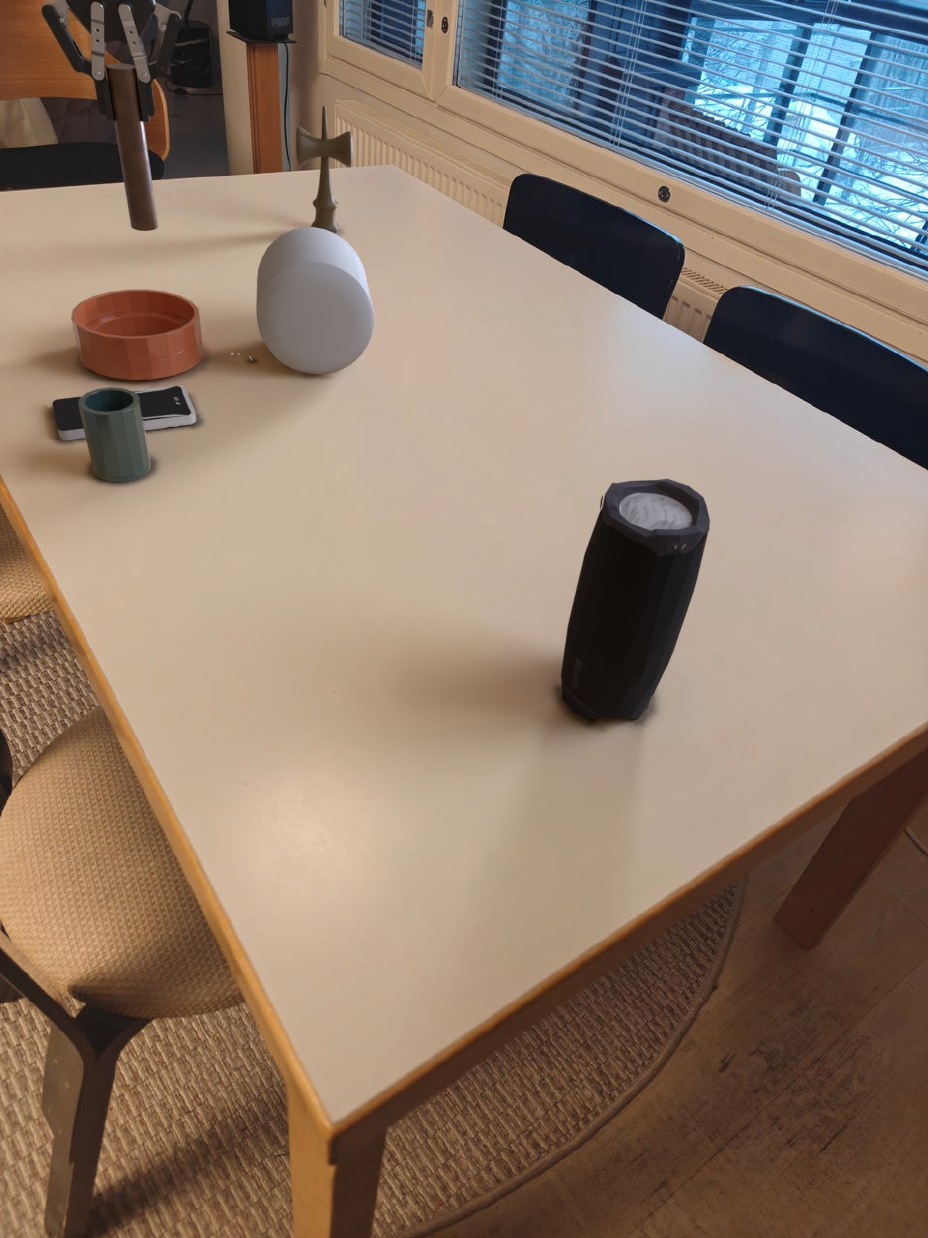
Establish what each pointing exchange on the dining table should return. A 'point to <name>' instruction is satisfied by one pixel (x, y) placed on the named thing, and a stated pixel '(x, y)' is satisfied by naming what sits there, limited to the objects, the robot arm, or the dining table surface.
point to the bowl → (138, 334)
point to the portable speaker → (632, 596)
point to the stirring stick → (132, 146)
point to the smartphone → (156, 406)
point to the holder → (115, 434)
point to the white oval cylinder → (313, 301)
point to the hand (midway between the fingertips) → (128, 118)
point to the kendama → (324, 168)
